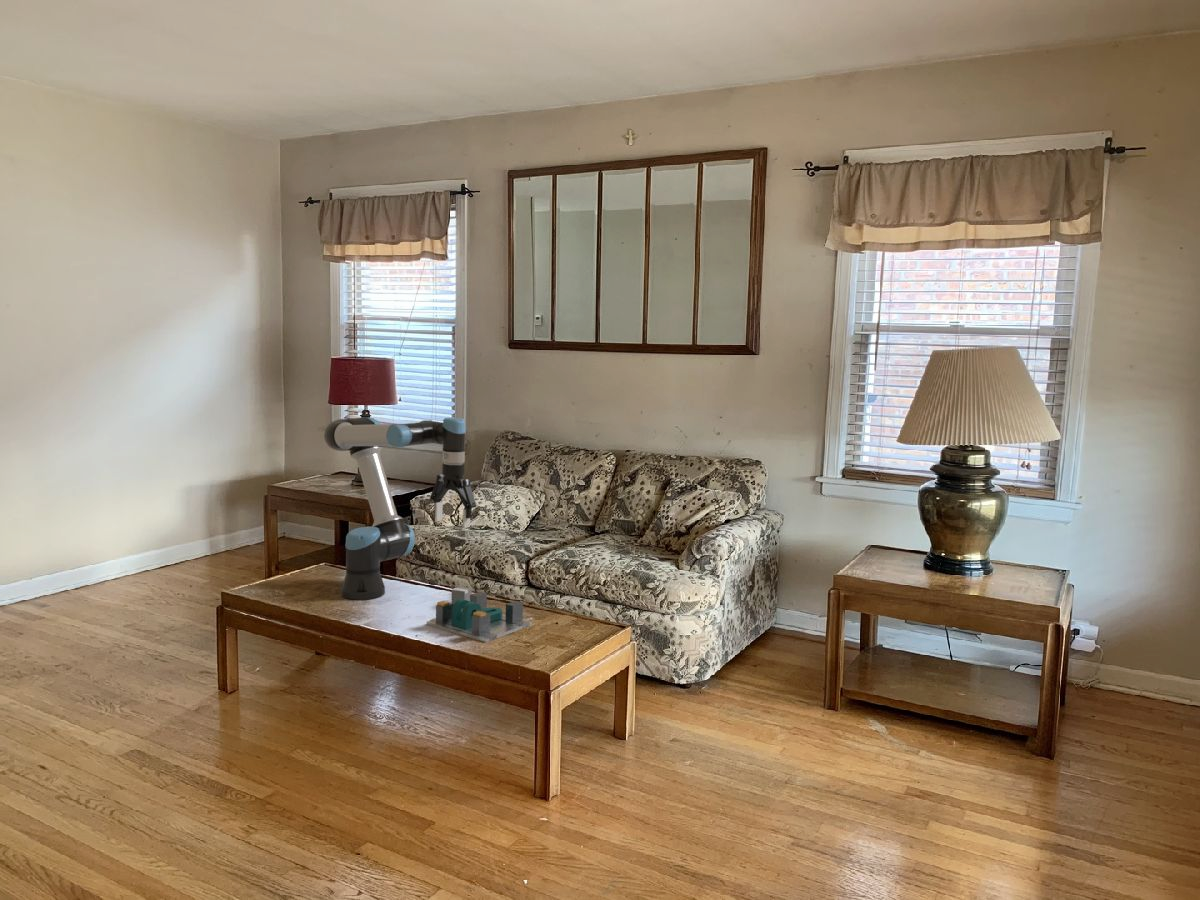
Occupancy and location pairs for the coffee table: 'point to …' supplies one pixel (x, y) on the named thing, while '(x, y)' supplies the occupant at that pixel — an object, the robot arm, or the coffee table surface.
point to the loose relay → (461, 593)
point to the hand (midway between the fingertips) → (452, 524)
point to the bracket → (470, 613)
